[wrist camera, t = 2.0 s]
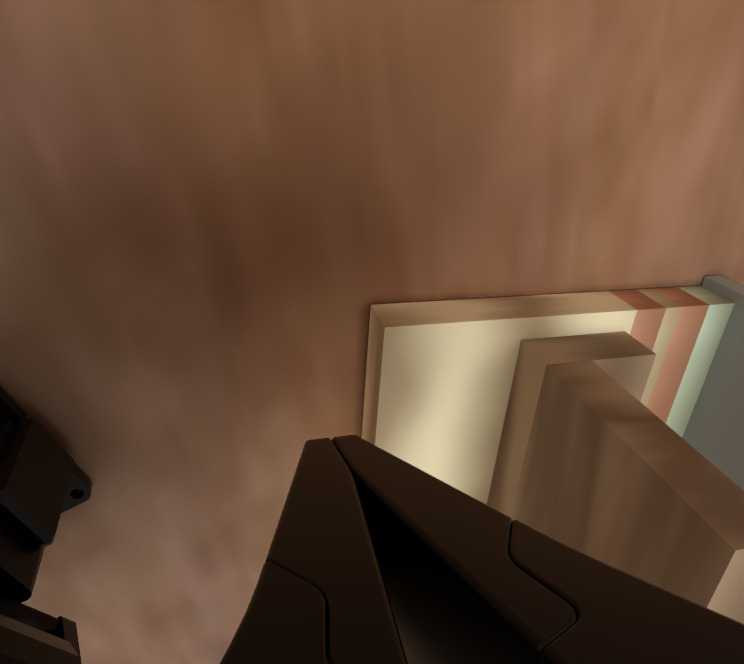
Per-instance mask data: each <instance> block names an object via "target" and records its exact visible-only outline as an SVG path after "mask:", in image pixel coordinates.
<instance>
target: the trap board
mask: <svg viewBox="0 0 744 664" xmlns="http://www.w3.org/2000/svg"><path fill="white" fill-rule="evenodd" d="M734 304H735V303H733V302H731V301H729V300H728V299H726V298H724V297H722V296H720V295H718V294H716V293H714V292H713V291H711V290H709V289H707V288H705V287H703V286H687V287H670V288H653V289H635V290H618V291H601V292H583V293H566V294H549V295H531V296H514V297H497V298H479V299H462V300H445V301H427V302H410V303H393V304H375V305H371V308H370V323H369V337H368V351H367V366H366V380H365V394H364V409H363V423H362V437H361V438H362V439H364V440H366V441H368V442H370V443H372V444H374V445H375V446H377V447H379V448H381V449H383V450H385V451H387V452H389V453H390V454H392V455H394V456H396V457H398V458H400V459H402V460H404V461H405V462H407V463H409V464H411V465H413V466H415V467H417V468H419V469H420V470H422V471H424V472H426V473H428V474H430V475H432V476H434V477H436V478H437V479H439V480H441V481H443V482H445V483H447V484H449V485H451V486H452V487H454V488H456V489H458V490H460V491H462V492H464V493H466V494H467V495H469V496H471V497H473V498H475V499H477V500H479V501H481V502H483V503H484V504H486V505H487V500H488V495H489V490H490V486H491V481H492V476H493V471H494V467H495V462H496V457H497V452H498V448H499V443H500V438H501V433H502V428H503V424H504V419H505V414H506V409H507V405H508V400H509V395H510V390H511V385H512V381H513V376H514V371H515V366H516V362H517V357H518V352H519V347H520V343H521V340H522V339H535V338H547V337H560V336H572V335H585V334H597V333H610V332H622V331H625V332H627V333H628V334H629V335H631V336H632V337H633V338H635V339H636V340H638V341H639V342H640V343H642V344H643V345H644V346H646V347H647V348H649V349H650V350H651V351H653V352H654V353H655V354H656V357H655V360H654V363H653V366H652V369H651V372H650V375H649V378H648V381H647V384H646V387H645V390H644V393H643V396H642V399H641V403H642V404H643V405H644V406H646V407H647V408H648V409H649V410H650V411H651V412H653V413H654V414H655V415H656V416H657V417H658V418H660V419H661V420H662V421H663V422H664V423H665V424H667V425H668V426H669V427H670V428H671V429H672V430H673V431H675V432H676V433H677V434H678V435H679V436H680V437H683V434H684V432H685V429H686V427H687V424H688V422H689V419H690V416H691V414H692V411H693V409H694V406H695V404H696V401H697V399H698V396H699V393H700V391H701V388H702V386H703V383H704V381H705V378H706V376H707V373H708V370H709V368H710V365H711V363H712V360H713V358H714V355H715V353H716V350H717V348H718V345H719V342H720V340H721V337H722V335H723V332H724V330H725V327H726V325H727V322H728V319H729V317H730V314H731V312H732V309H733V307H734Z"/></svg>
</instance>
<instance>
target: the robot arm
mask: <svg viewBox="0 0 744 664" xmlns="http://www.w3.org/2000/svg"><path fill="white" fill-rule="evenodd" d="M74 489H81V490H82V491H81V492H76V491H74ZM91 491H92V484H91V482H90V481H89V480H88V479H87V478H86V477H85V476H84V475H83V474H82V472H81V471H80V470H79V469H78V468H77V467H76V466H75V465H74V460H73V459H72V458H71V457H70V456H69V455H68V454H67V453H66V452H65V450H64V449H63V448H62V447H61V446H60V445H59V444H58V443H57V442H56V441H55V440H54V439H53V438H52V437H51V436H50V435H49V434H48V433H47V432H46V431H45V429H44V428H43V427H42V426H41V425H40V424H39V423H38V422H37V421H36V420H35V419H34V418H31V417H28V416H27V415H26V414H25V413H24V412H23V411H22V410H21V409H20V408H19V407H18V406H17V405H16V404H15V403H14V401H13V400H12V399H11V398H10V397H9V396H8V395H7V394H6V393H5V392H4V391H3V390H2V389H1V388H0V664H81V657H80V649H79V642H78V635H77V628H76V623H75V622H74V621H71V620H69V619H67V618H64V617H62V616H60V617H58V618H55V617H53V616H50V615H48V614H46V613H43V612H41V611H38V610H36V609H34V608H31V607H29V606H26V605H24V604H22V602H24V601H26V600H28V599H29V598H30V597H31V595H32V591H33V587H34V584H35V580H36V577H37V573H38V569H39V566H40V562H41V559H42V555H43V551H44V548H45V547H46V546H48V545H50V544H52V542H53V540H54V537H55V533H56V529H57V525H58V522H59V518H60V514H61V513H62V512H64V511H67V510H69V509H71V508H73V507H75V506H77V505H79V504H81V503H83V502H85V501H86V500H88V499H89V497H90V496H91ZM220 664H744V624H742V623H740V622H738V621H736V620H733V619H731V618H729V617H727V616H724V615H722V614H720V613H717V612H715V611H713V610H711V609H708V608H706V607H704V606H701V605H699V604H697V603H695V602H692V601H690V600H688V599H685V598H683V597H681V596H679V595H676V594H674V593H672V592H669V591H667V590H665V589H663V588H660V587H658V586H656V585H654V584H651V583H649V582H647V581H644V580H642V579H640V578H638V577H635V576H633V575H631V574H628V573H626V572H624V571H622V570H619V569H617V568H615V567H612V566H610V565H608V564H606V563H604V562H601V561H599V560H597V559H595V558H593V557H590V556H588V555H586V554H584V553H582V552H580V551H577V550H575V549H573V548H571V547H569V546H567V545H565V544H563V543H561V542H559V541H557V540H555V539H553V538H551V537H549V536H547V535H545V534H543V533H541V532H539V531H537V530H535V529H533V528H531V527H529V526H528V525H526V524H524V523H522V522H520V521H518V520H513V521H512V519H511V518H510V517H509V516H507V515H505V514H503V513H501V512H499V511H498V510H496V509H494V508H492V507H490V506H488V505H486V504H484V503H483V502H481V501H479V500H477V499H475V498H473V497H471V496H469V495H467V494H466V493H464V492H462V491H460V490H458V489H456V488H454V487H452V486H451V485H449V484H447V483H445V482H443V481H441V480H439V479H437V478H436V477H434V476H432V475H430V474H428V473H426V472H424V471H422V470H420V469H419V468H417V467H415V466H413V465H411V464H409V463H407V462H405V461H404V460H402V459H400V458H398V457H396V456H394V455H392V454H390V453H389V452H387V451H385V450H383V449H381V448H379V447H377V446H375V445H374V444H372V443H370V442H368V441H366V440H364V439H362V438H360V437H358V436H356V435H348V436H339V437H334V438H333V439H332V441H331V439H329V438H323V439H314V440H308V441H306V443H305V445H304V448H303V451H302V454H301V457H300V460H299V463H298V466H297V469H296V472H295V475H294V478H293V481H292V484H291V487H290V490H289V493H288V496H287V499H286V502H285V505H284V508H283V511H282V514H281V517H280V520H279V523H278V526H277V529H276V532H275V535H274V538H273V541H272V543H271V546H270V549H269V552H268V555H267V558H266V562H265V564H264V565H263V568H262V571H261V574H260V577H259V580H258V583H257V586H256V588H255V591H254V593H253V596H252V598H251V601H250V603H249V606H248V609H247V611H246V613H245V615H244V617H243V619H242V621H241V623H240V625H239V627H238V629H237V632H236V634H235V636H234V638H233V640H232V642H231V644H230V646H229V648H228V649H227V651H226V653H225V655H224V657H223V659H222V661H221V662H220Z"/></svg>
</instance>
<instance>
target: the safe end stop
mask: <svg viewBox="0 0 744 664" xmlns="http://www.w3.org/2000/svg"><path fill="white" fill-rule="evenodd" d="M702 286H703V287H705V288H707V289H709V290H711V291H713V292H714V293H716V294H718V295H720V296H722V297H724V298H726V299H728V300H729V301H731V302H733V303H735V304H734V307H733V309H732V312H731V314H730V317H729V319H728V322H727V325H726V327H725V330H724V332H723V335H722V337H721V340H720V342H719V345H718V348H717V350H716V353H715V355H714V358H713V360H712V363H711V365H710V368H709V370H708V373H707V376H706V378H705V381H704V383H703V386H702V388H701V391H700V393H699V396H698V399H697V401H696V404H695V406H694V409H693V411H692V414H691V416H690V419H689V422H688V424H687V427H686V429H685V432H684V434H683V437H682V438H683V439H684V440H685V441H686V442H687V443H689V444H690V445H691V446H692V447H693V448H694V449H696V450H697V451H698V452H699V453H700V454H701V455H703V456H704V457H705V458H706V459H707V460H708V461H709V462H711V463H712V464H713V465H714V466H715V467H716V468H718V469H719V470H720V471H721V472H722V473H723V474H725V475H726V476H727V477H728V478H729V479H730V480H732V481H733V482H734V483H735V484H736V485H737V486H738V487H740V488H741V489H742V490H743V491H744V285H741V284H739V283H737V282H735V281H733V280H731V279H729V278H727V277H725V276H723V275H712V276H705V277H704V280H703V283H702Z"/></svg>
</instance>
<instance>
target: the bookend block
mask: <svg viewBox="0 0 744 664" xmlns="http://www.w3.org/2000/svg"><path fill="white" fill-rule="evenodd" d="M655 357H656V354H655V353H654V352H653V351H651V350H650V349H649V348H647V347H646V346H644V345H643V344H642V343H640V342H639V341H638V340H636V339H635V338H633V337H632V336H631V335H629V334H628V333H627V332H625V331H622V332H610V333H597V334H585V335H572V336H560V337H547V338H535V339H522V340H521V343H520V347H519V352H518V357H517V362H516V366H515V371H514V376H513V381H512V385H511V390H510V395H509V400H508V405H507V409H506V414H505V419H504V424H503V428H502V433H501V438H500V443H499V448H498V452H497V457H496V462H495V467H494V471H493V476H492V481H491V486H490V490H489V495H488V500H487V505H488V506H490V507H492V508H494V509H496V510H498V511H499V512H501V513H503V514H505V515H507V516H509V517H510V518H511V519H512V521H513V520H518V521H520V522H522V523H524V524H526V525H528V526H529V527H531V528H533V529H535V530H537V531H539V532H541V533H543V534H545V535H547V536H549V537H551V538H553V539H555V540H557V541H559V542H561V543H563V544H565V545H567V546H569V547H571V548H573V549H575V550H577V551H580V552H582V553H584V554H586V555H588V556H590V557H593V558H595V559H597V560H599V561H601V562H604V563H606V564H608V565H610V566H612V567H615V568H617V569H619V570H622V571H624V572H626V573H628V574H631V575H633V576H635V577H638V578H640V579H642V580H644V581H647V582H649V583H651V584H654V585H656V586H658V587H660V588H663V589H665V590H667V591H669V592H672V593H674V594H676V595H679V596H681V597H683V598H685V599H688V600H690V601H692V602H695V603H697V604H699V605H701V606H704V607H706V608H708V609H711V610H713V611H715V612H717V613H720V614H722V615H724V616H727V617H729V618H731V619H733V620H736V621H738V622H740V623H742V624H744V491H743V490H742V489H741V488H740V487H738V486H737V485H736V484H735V483H734V482H733V481H732V480H730V479H729V478H728V477H727V476H726V475H725V474H723V473H722V472H721V471H720V470H719V469H718V468H716V467H715V466H714V465H713V464H712V463H711V462H709V461H708V460H707V459H706V458H705V457H704V456H703V455H701V454H700V453H699V452H698V451H697V450H696V449H694V448H693V447H692V446H691V445H690V444H689V443H687V442H686V441H685V440H684V439H683V438H682V437H680V436H679V435H678V434H677V433H676V432H675V431H673V430H672V429H671V428H670V427H669V426H668V425H667V424H665V423H664V422H663V421H662V420H661V419H660V418H658V417H657V416H656V415H655V414H654V413H653V412H651V411H650V410H649V409H648V408H647V407H646V406H644V405H643V404H642V403H641V399H642V396H643V393H644V390H645V387H646V384H647V381H648V378H649V375H650V372H651V369H652V366H653V363H654V360H655Z"/></svg>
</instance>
